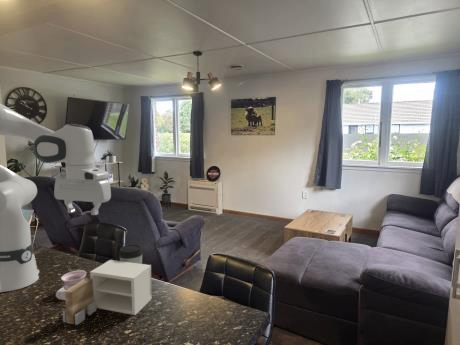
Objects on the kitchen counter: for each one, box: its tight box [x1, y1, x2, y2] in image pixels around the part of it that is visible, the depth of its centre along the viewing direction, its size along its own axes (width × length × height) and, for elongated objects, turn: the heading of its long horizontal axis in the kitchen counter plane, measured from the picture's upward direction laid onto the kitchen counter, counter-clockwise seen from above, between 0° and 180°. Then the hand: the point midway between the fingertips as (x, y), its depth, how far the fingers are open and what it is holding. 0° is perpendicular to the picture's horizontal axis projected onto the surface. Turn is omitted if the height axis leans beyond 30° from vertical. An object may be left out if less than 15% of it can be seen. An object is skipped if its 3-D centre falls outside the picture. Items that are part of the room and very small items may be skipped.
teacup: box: [55, 269, 87, 301], centre depth 107 cm, size 12×12×6 cm
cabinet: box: [62, 259, 153, 325], centre depth 95 cm, size 19×19×12 cm
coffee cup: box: [118, 244, 144, 264], centre depth 110 cm, size 8×8×15 cm
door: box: [64, 277, 93, 325], centre depth 92 cm, size 3×8×10 cm, turn 165°
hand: (83, 213), depth 102 cm, fingers open, 8 cm apart
